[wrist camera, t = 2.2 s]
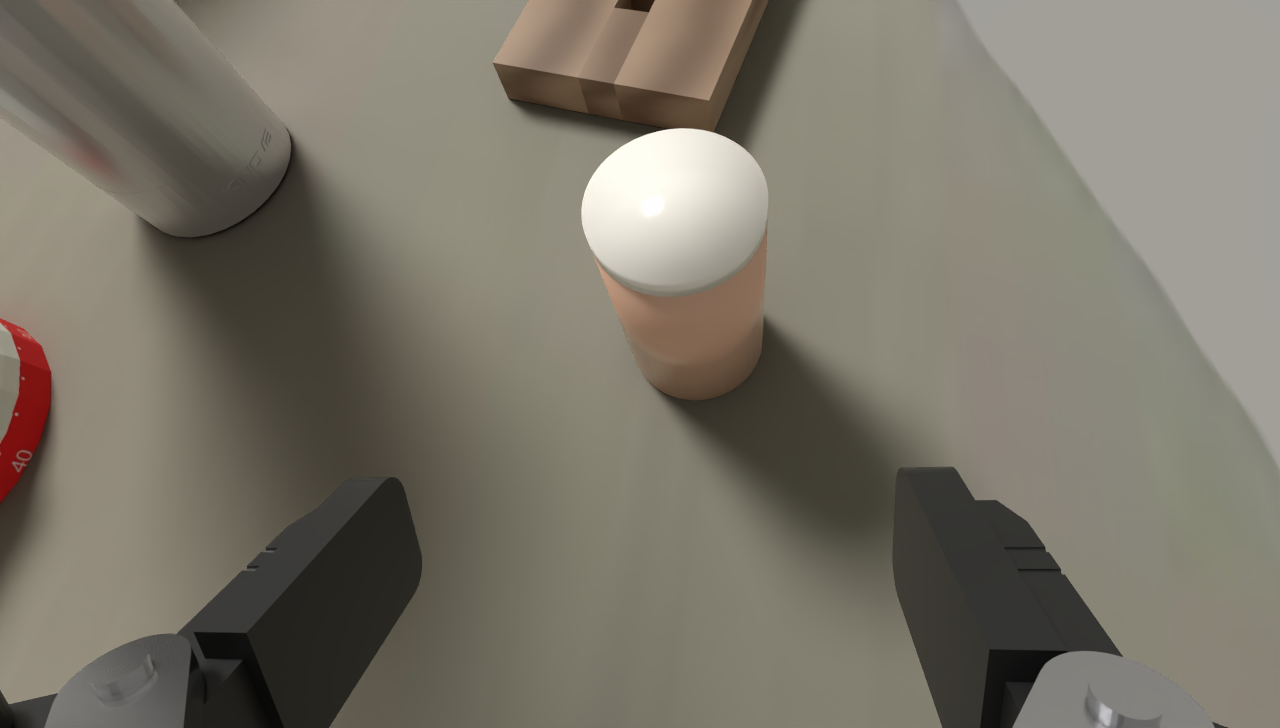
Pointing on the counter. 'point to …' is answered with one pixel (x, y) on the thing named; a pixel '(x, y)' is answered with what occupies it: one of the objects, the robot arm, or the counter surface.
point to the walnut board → (630, 57)
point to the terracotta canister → (683, 256)
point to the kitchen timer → (20, 401)
